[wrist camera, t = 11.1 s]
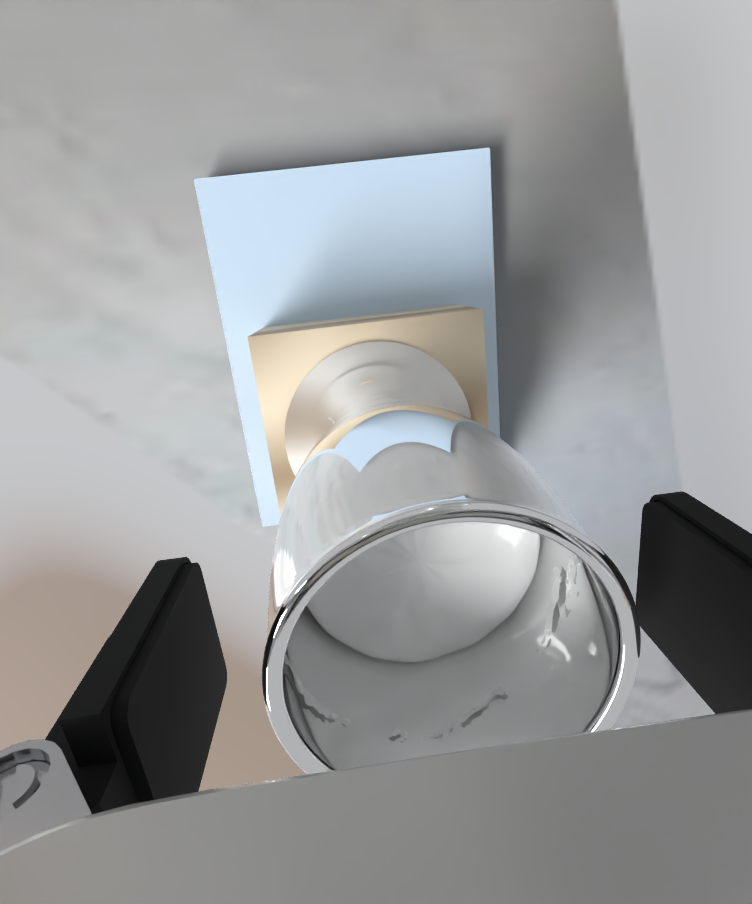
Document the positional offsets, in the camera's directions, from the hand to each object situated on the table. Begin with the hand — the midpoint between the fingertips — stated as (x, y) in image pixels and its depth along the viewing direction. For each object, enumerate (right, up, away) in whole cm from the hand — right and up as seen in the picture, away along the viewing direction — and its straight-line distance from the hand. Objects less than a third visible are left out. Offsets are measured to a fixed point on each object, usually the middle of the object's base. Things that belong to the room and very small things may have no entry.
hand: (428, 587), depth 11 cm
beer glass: (-1, +4, +12) cm, 13 cm away
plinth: (-1, +5, +17) cm, 18 cm away
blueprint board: (-2, +8, +18) cm, 20 cm away
